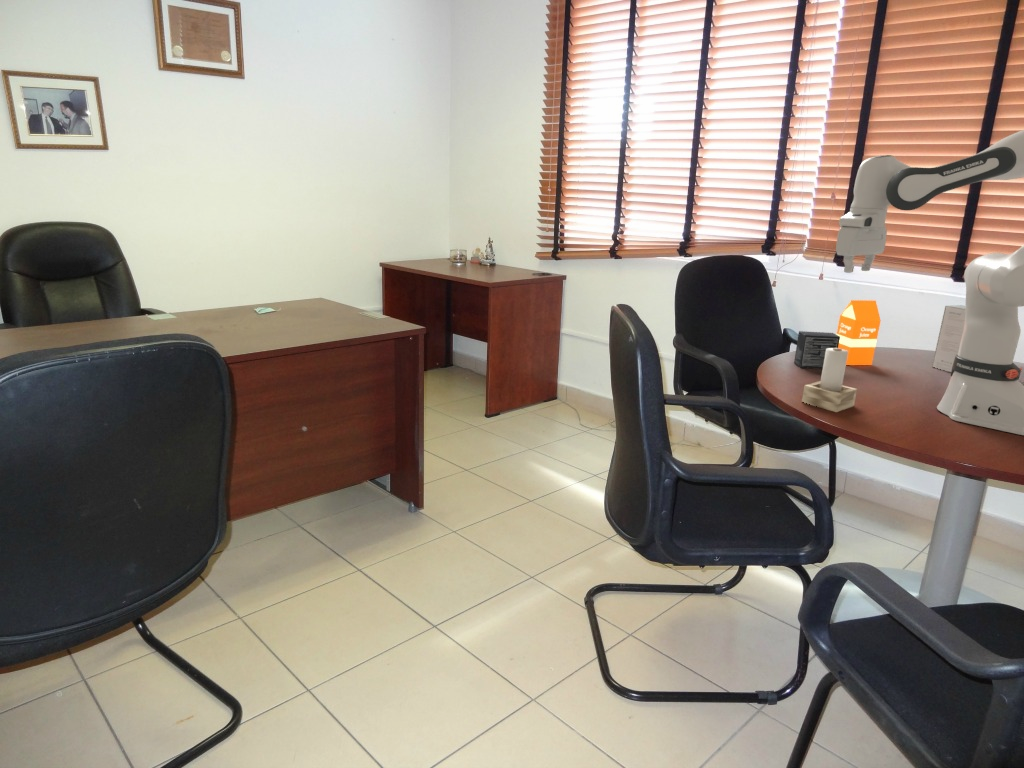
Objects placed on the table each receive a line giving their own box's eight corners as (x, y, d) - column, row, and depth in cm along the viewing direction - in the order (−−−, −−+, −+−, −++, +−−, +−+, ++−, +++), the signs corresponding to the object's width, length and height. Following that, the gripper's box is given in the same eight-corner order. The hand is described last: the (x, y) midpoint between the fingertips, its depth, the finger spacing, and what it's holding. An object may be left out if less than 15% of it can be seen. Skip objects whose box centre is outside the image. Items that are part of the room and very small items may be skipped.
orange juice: (831, 359, 213) (842, 298, 207) (855, 359, 215) (867, 298, 209) (846, 365, 206) (859, 302, 200) (872, 365, 207) (885, 302, 201)
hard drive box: (996, 379, 197) (1013, 313, 191) (979, 380, 194) (996, 314, 189) (946, 365, 211) (961, 304, 205) (930, 367, 208) (944, 304, 202)
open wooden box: (853, 406, 166) (857, 389, 165) (836, 412, 161) (839, 394, 159) (819, 396, 173) (822, 380, 172) (801, 402, 168) (804, 385, 166)
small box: (827, 364, 206) (833, 332, 203) (835, 370, 200) (841, 336, 197) (792, 362, 207) (798, 330, 204) (799, 368, 201) (805, 334, 198)
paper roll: (843, 397, 166) (852, 349, 162) (833, 400, 163) (842, 351, 159) (824, 392, 170) (832, 345, 166) (814, 395, 167) (822, 347, 163)
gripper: (873, 218, 184) (863, 268, 188) (835, 218, 172) (826, 272, 176) (896, 220, 179) (886, 271, 183) (860, 220, 167) (850, 275, 171)
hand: (856, 271), depth 180 cm, fingers open, 8 cm apart
